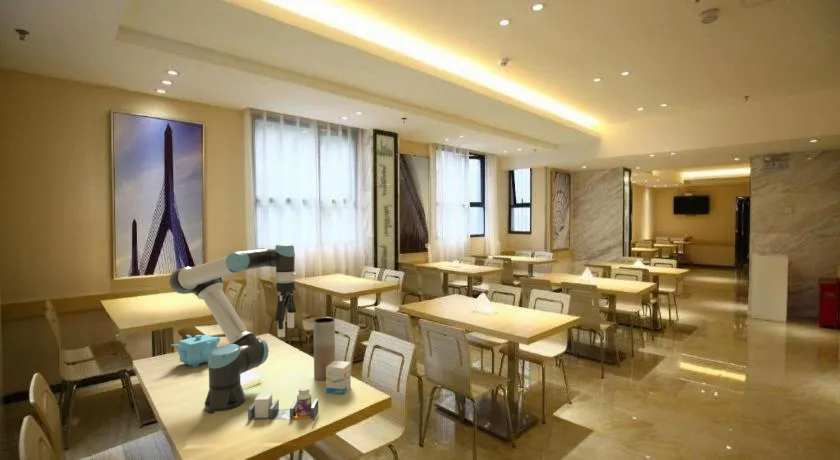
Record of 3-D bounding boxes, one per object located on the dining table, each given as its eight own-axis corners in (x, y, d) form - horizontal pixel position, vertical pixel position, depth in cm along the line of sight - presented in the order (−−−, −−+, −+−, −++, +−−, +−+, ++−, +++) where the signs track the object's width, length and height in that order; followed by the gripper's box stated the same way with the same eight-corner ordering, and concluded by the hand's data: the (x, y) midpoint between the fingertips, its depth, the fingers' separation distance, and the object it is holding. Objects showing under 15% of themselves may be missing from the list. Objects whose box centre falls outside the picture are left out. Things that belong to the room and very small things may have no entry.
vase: (323, 372, 208) (322, 316, 207) (339, 375, 203) (338, 318, 202) (309, 379, 199) (308, 321, 198) (326, 382, 194) (325, 323, 193)
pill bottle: (294, 415, 160) (293, 390, 160) (302, 409, 165) (302, 384, 165) (306, 417, 159) (305, 392, 158) (314, 411, 164) (314, 386, 163)
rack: (247, 422, 157) (247, 409, 157) (255, 412, 165) (255, 399, 165) (313, 421, 158) (313, 408, 158) (318, 411, 166) (318, 398, 166)
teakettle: (222, 356, 232) (221, 329, 232) (211, 368, 214) (211, 339, 213) (185, 358, 229) (184, 331, 228) (171, 370, 210) (170, 341, 210)
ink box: (344, 394, 181) (343, 368, 181) (325, 393, 183) (325, 366, 182) (351, 386, 190) (350, 361, 189) (333, 385, 191) (333, 360, 191)
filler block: (255, 417, 159) (254, 399, 159) (259, 411, 164) (259, 393, 164) (268, 417, 159) (268, 399, 159) (272, 411, 164) (272, 393, 164)
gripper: (286, 286, 163) (286, 340, 163) (302, 277, 187) (302, 324, 188) (266, 286, 162) (267, 341, 163) (285, 277, 187) (285, 324, 188)
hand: (286, 332), depth 176 cm, fingers open, 13 cm apart
